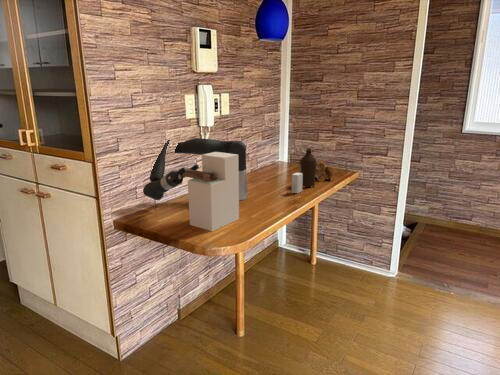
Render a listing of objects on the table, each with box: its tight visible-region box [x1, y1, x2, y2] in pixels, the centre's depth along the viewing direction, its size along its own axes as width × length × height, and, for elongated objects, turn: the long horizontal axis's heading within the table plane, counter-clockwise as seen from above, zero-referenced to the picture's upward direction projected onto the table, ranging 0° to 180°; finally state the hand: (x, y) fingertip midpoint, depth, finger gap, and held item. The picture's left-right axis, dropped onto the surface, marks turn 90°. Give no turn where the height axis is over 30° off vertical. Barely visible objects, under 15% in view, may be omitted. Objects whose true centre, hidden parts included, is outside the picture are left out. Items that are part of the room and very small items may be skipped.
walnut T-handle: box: [178, 168, 217, 182], centre depth 172 cm, size 6×20×3 cm, turn 54°
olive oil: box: [299, 147, 318, 188], centre depth 238 cm, size 11×11×25 cm
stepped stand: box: [187, 152, 240, 232], centre depth 174 cm, size 20×14×32 cm
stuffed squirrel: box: [315, 160, 335, 181], centre depth 256 cm, size 10×14×13 cm
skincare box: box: [291, 172, 303, 194], centre depth 225 cm, size 6×4×12 cm
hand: (191, 167), depth 173 cm, fingers open, 8 cm apart
